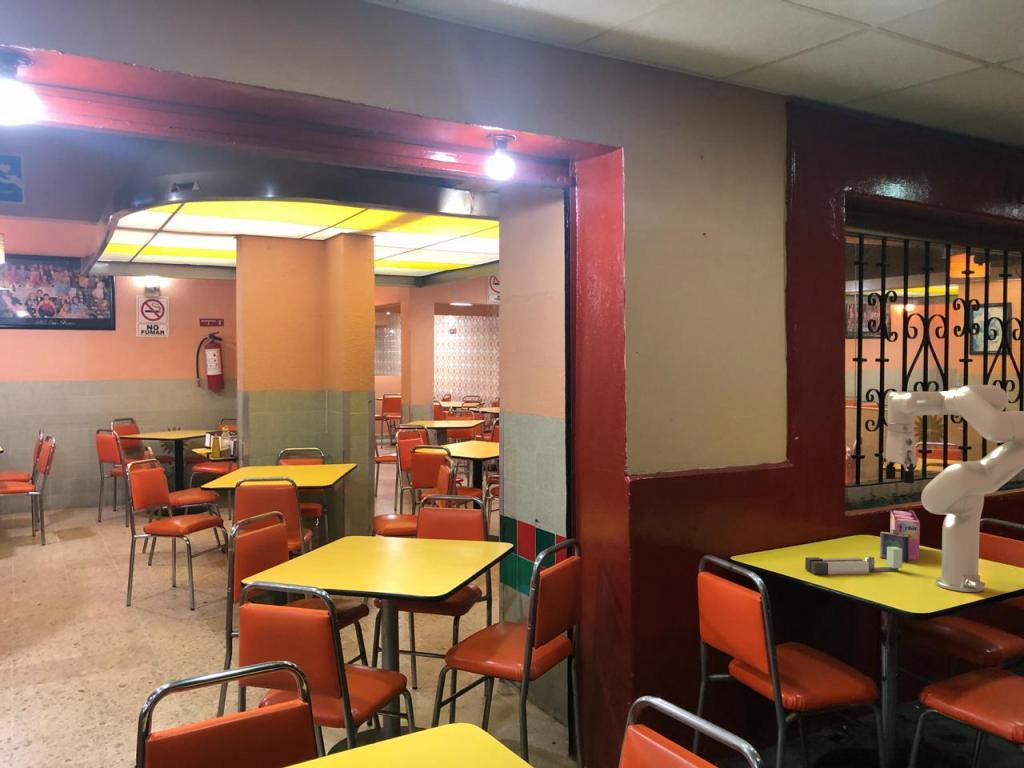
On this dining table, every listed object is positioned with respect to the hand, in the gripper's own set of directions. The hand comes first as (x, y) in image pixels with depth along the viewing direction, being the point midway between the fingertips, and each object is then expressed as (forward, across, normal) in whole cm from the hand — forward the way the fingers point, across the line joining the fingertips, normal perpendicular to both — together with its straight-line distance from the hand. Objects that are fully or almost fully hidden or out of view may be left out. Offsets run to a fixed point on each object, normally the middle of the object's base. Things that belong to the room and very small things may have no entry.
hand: (899, 480), depth 251 cm
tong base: (+28, -6, +18) cm, 34 cm away
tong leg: (+28, -3, +24) cm, 37 cm away
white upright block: (+27, -5, +4) cm, 28 cm away
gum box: (+29, +17, -14) cm, 36 cm away
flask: (+29, +8, -4) cm, 30 cm away
